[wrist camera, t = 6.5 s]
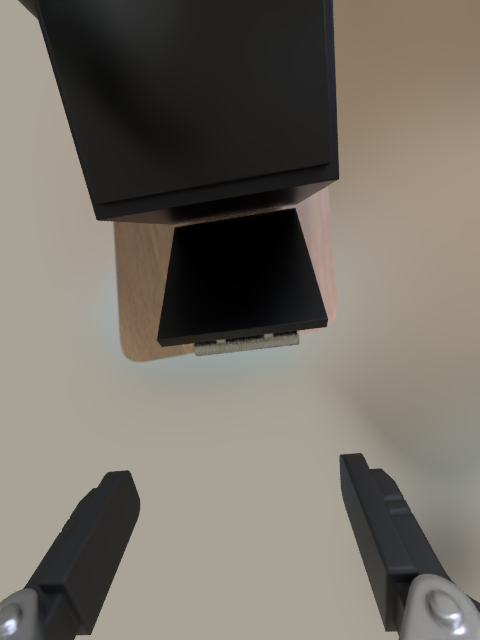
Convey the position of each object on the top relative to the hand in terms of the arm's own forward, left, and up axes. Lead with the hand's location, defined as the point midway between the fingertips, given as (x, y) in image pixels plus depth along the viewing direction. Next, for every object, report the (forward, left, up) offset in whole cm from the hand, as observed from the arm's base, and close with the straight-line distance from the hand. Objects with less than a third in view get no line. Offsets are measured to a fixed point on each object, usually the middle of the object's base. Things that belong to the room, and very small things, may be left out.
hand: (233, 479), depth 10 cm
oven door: (-6, +5, -23) cm, 25 cm away
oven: (-14, +12, -25) cm, 31 cm away
